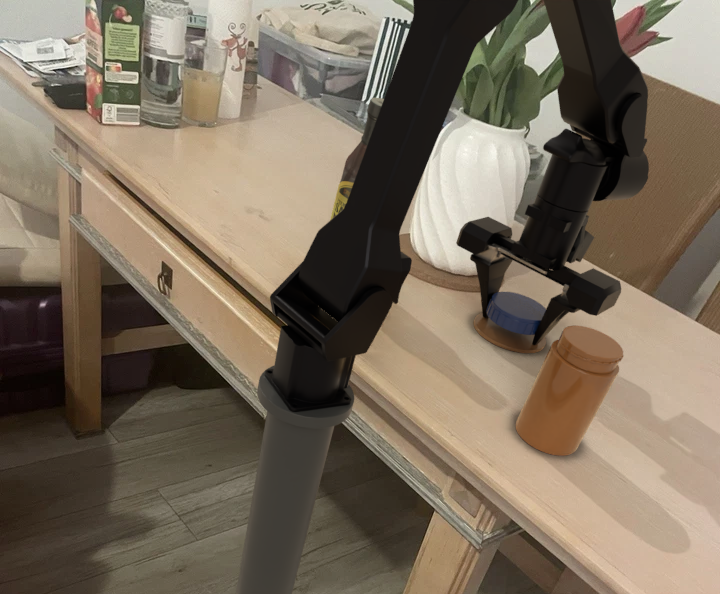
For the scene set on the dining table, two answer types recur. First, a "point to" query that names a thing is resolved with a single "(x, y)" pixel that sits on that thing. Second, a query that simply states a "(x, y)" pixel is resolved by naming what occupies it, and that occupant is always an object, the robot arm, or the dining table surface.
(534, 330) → the lid
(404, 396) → the dining table surface
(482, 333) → the coaster
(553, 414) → the jar
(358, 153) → the sauce bottle
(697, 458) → the dining table surface
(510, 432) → the dining table surface
